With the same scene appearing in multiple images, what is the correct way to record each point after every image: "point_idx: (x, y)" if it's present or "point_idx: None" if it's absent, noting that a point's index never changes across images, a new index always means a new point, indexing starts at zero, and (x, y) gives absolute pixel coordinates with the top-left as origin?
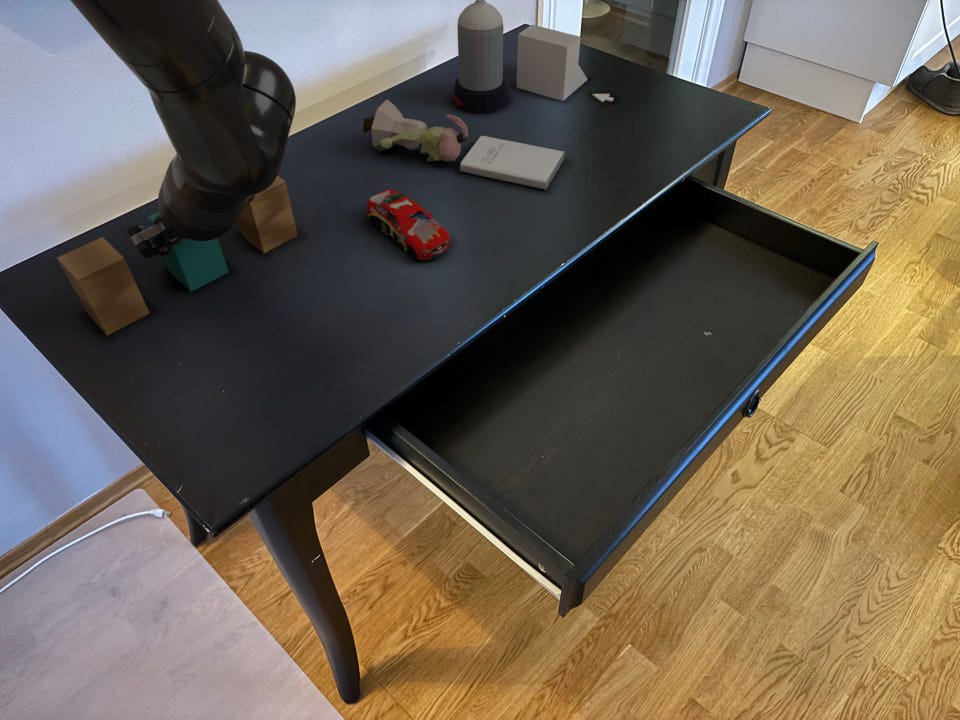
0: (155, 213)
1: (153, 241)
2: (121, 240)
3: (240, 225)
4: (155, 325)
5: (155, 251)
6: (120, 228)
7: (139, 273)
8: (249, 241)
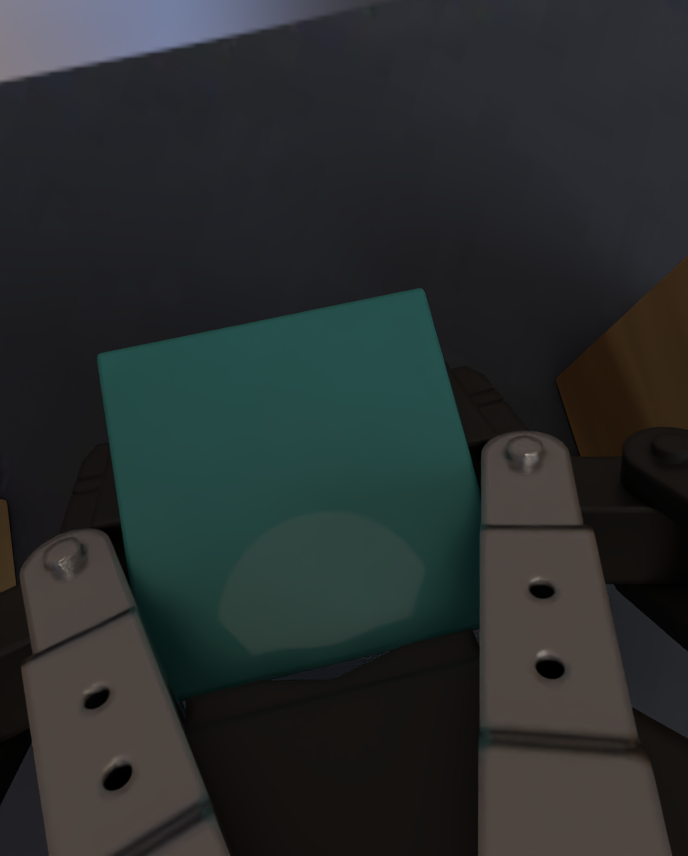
0: (159, 347)
1: (22, 692)
2: (103, 152)
3: (586, 376)
4: (21, 798)
5: (20, 752)
6: (126, 79)
7: (91, 395)
8: (575, 439)
